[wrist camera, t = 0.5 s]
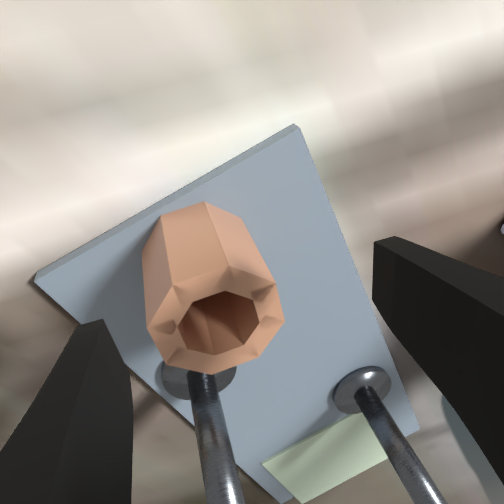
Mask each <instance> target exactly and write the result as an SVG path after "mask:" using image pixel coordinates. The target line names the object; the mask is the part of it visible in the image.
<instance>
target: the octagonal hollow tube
mask: <svg viewBox="0 0 504 504" xmlns="http://www.w3.org/2000/svg"><path fill="white" fill-rule="evenodd" d="M141 252H142V266H143V281H144V295H145V310H146V324H147V329H148V331H149V333H150V335H151V337H152V339H153V341H154V343H155V345H156V346H157V348H158V350H159V352H160V354H161V356H162V358H163V360H164V362H165V364H166V365H170V366H174V367H179V368H183V369H188V370H192V371H197V372H201V373H206V374H210V375H212V374H215V373H218V372H221V371H223V370H226V369H229V368H231V367H234V366H237V365H239V364H242V363H245V362H248V361H250V360H253V359H256V358H258V357H259V356H260V355H261V353H262V352H263V351H264V349H265V348H266V347H267V345H268V344H269V342H270V341H271V340H272V338H273V337H274V336H275V334H276V333H277V332H278V330H279V329H280V328H281V326H282V325H283V324H284V322H285V319H284V315H283V311H282V307H281V303H280V298H279V294H278V290H277V286H276V282H275V280H274V278H273V276H272V275H271V273H270V271H269V269H268V267H267V265H266V263H265V262H264V260H263V258H262V256H261V254H260V252H259V250H258V248H257V247H256V245H255V243H254V241H253V239H252V237H251V235H250V234H249V232H248V230H247V228H246V226H245V224H244V222H243V221H242V219H241V218H240V217H238V216H236V215H233V214H231V213H229V212H227V211H224V210H222V209H220V208H218V207H216V206H213V205H211V204H209V203H207V202H204V201H203V202H200V203H197V204H194V205H191V206H188V207H185V208H181V209H178V210H175V211H172V212H169V213H166V214H163V215H160V217H159V219H158V221H157V223H156V225H155V227H154V229H153V231H152V232H151V234H150V236H149V238H148V240H147V242H146V244H145V246H144V247H143V249H142V251H141Z"/></svg>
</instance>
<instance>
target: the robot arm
mask: <svg viewBox="0 0 504 504" xmlns="http://www.w3.org/2000/svg"><path fill="white" fill-rule="evenodd" d="M501 233H502V234H504V224H503V225H502V227H501ZM372 300H373V302H374V304H375V306H376V307H377V309H378V311H379V312H380V314H381V316H382V317H383V319H384V320H385V322H386V324H387V325H388V327H389V328H390V330H391V331H392V332H393V334H394V335H395V336H396V337H397V339H398V340H399V341H400V342H401V344H402V345H403V346H404V347H405V349H406V350H407V351H408V352H409V354H410V355H411V356H412V357H413V358H414V360H415V361H416V362H417V363H418V364H419V366H420V367H421V368H422V369H423V371H424V372H425V373H426V374H427V375H428V377H429V378H430V379H431V380H432V382H433V383H434V384H435V385H436V386H437V388H438V389H439V390H440V391H441V392H442V394H443V395H444V396H445V397H446V399H447V400H448V401H449V403H450V404H451V405H452V407H453V408H454V409H455V411H456V412H457V414H458V415H459V417H460V418H461V420H462V421H463V422H464V424H465V426H466V427H467V428H468V430H469V432H470V433H471V434H472V436H473V438H474V439H475V441H476V442H477V444H478V445H479V447H480V448H481V450H482V451H483V453H484V455H485V456H486V458H487V459H488V461H489V463H490V464H491V466H492V467H493V469H494V470H495V472H496V474H497V475H498V477H499V478H500V480H501V481H502V483H503V485H504V278H503V277H500V276H497V275H494V274H491V273H489V272H486V271H483V270H480V269H478V268H475V267H473V266H470V265H467V264H465V263H462V262H460V261H457V260H455V259H452V258H450V257H447V256H445V255H442V254H440V253H437V252H435V251H433V250H430V249H428V248H425V247H423V246H420V245H418V244H415V243H413V242H410V241H407V240H405V239H402V238H399V237H396V236H393V237H389V238H386V239H382V240H379V241H375V242H374V254H373V285H372ZM132 453H133V402H132V391H131V382H130V373H129V371H128V369H127V367H126V365H125V363H124V361H123V359H122V357H121V355H120V353H119V351H118V348H117V346H116V344H115V342H114V340H113V338H112V336H111V334H110V332H109V330H108V328H107V326H106V324H105V322H104V319H99V320H96V321H92V322H89V323H85V324H81V325H78V326H77V327H76V329H75V331H74V332H73V334H72V336H71V337H70V339H69V341H68V343H67V345H66V346H65V348H64V350H63V352H62V353H61V355H60V357H59V359H58V360H57V362H56V364H55V366H54V367H53V369H52V371H51V373H50V374H49V376H48V378H47V379H46V381H45V383H44V384H43V386H42V388H41V389H40V391H39V393H38V394H37V396H36V398H35V399H34V401H33V403H32V404H31V406H30V408H29V409H28V411H27V412H26V414H25V415H24V417H23V418H22V420H21V421H20V423H19V424H18V426H17V427H16V429H15V430H14V432H13V433H12V435H11V436H10V438H9V440H8V441H7V443H6V444H5V445H4V447H3V448H2V450H1V451H0V504H131V489H132Z"/></svg>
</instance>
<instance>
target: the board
mask: <svg viewBox="0 0 504 504" xmlns="http://www.w3.org/2000/svg"><path fill="white" fill-rule="evenodd" d="M203 201H204V202H207V203H209V204H211V205H213V206H216V207H218V208H220V209H222V210H224V211H227V212H229V213H231V214H233V215H236V216H238V217H240V218H241V219H242V221H243V222H244V224H245V226H246V228H247V230H248V232H249V234H250V235H251V237H252V239H253V241H254V243H255V245H256V247H257V248H258V250H259V252H260V254H261V256H262V258H263V260H264V262H265V263H266V265H267V267H268V269H269V271H270V273H271V275H272V276H273V278H274V280H275V282H276V286H277V290H278V294H279V298H280V303H281V307H282V311H283V315H284V319H285V322H284V324H283V325H282V326H281V328H280V329H279V330H278V332H277V333H276V334H275V336H274V337H273V338H272V340H271V341H270V342H269V344H268V345H267V347H266V348H265V349H264V351H263V352H262V353H261V355H260V356H259V357H258V358H256V359H253V360H250V361H248V362H245V363H242V364H239V365H237V369H236V374H235V376H234V378H233V380H232V382H231V383H230V384H229V385H228V386H227V387H226V388H225V389H223V390H222V391H221V392H219V396H220V400H221V404H222V409H223V413H224V417H225V421H226V425H227V429H228V434H229V438H230V442H231V446H232V450H233V454H234V458H235V463H236V464H237V465H238V466H239V467H240V468H242V469H243V470H244V471H245V472H246V473H247V474H248V475H249V476H250V477H252V478H253V479H254V480H255V481H256V482H257V483H258V484H259V485H260V486H262V487H263V488H264V489H265V490H266V491H267V492H268V493H269V494H270V495H272V496H273V497H274V498H275V499H276V500H277V501H278V502H279V503H280V504H283V503H284V502H286V501H288V500H290V499H292V498H294V496H293V495H292V494H291V493H290V492H289V491H288V490H287V489H286V488H285V487H284V486H283V485H282V484H281V483H280V482H279V481H278V480H277V479H276V478H275V477H274V476H273V475H272V474H271V473H270V472H269V471H268V470H267V469H266V468H265V467H264V466H263V465H262V463H261V462H263V461H264V460H266V459H268V458H270V457H272V456H274V455H275V454H277V453H279V452H281V451H283V450H284V449H286V448H288V447H290V446H292V445H294V444H295V443H297V442H299V441H301V440H303V439H305V438H306V437H308V436H310V435H312V434H314V433H316V432H317V431H319V430H321V429H323V428H325V427H326V426H328V425H330V424H332V423H334V422H336V421H337V420H339V419H341V418H343V417H345V416H347V415H348V414H345V413H342V412H340V411H339V410H338V409H337V407H336V405H335V403H334V401H333V398H332V394H333V390H334V388H335V386H336V385H337V383H338V382H339V381H340V380H341V379H342V378H343V377H344V376H346V375H347V374H348V373H350V372H352V371H354V370H356V369H358V368H361V367H365V366H378V367H381V368H383V369H384V370H385V371H386V373H387V374H388V376H389V377H390V379H391V383H392V384H391V389H390V391H389V393H388V395H387V396H386V397H385V398H384V399H383V400H382V402H383V404H384V405H385V407H386V408H387V410H388V412H389V413H390V415H391V416H392V418H393V419H394V421H395V422H396V424H397V426H398V427H399V429H400V430H401V432H402V433H403V435H404V436H405V437H406V436H408V435H410V434H412V433H413V432H415V431H417V430H419V429H420V427H419V424H418V422H417V419H416V417H415V414H414V412H413V409H412V407H411V404H410V402H409V399H408V397H407V394H406V392H405V389H404V387H403V384H402V382H401V379H400V377H399V374H398V372H397V369H396V367H395V364H394V362H393V359H392V357H391V354H390V352H389V349H388V347H387V344H386V342H385V339H384V337H383V334H382V332H381V329H380V327H379V324H378V322H377V319H376V317H375V314H374V312H373V309H372V307H371V304H370V302H369V299H368V297H367V294H366V292H365V289H364V287H363V284H362V282H361V279H360V277H359V274H358V272H357V269H356V267H355V264H354V262H353V259H352V257H351V254H350V252H349V249H348V247H347V244H346V242H345V239H344V237H343V234H342V232H341V229H340V227H339V224H338V222H337V219H336V217H335V214H334V212H333V209H332V207H331V204H330V202H329V199H328V197H327V194H326V192H325V189H324V187H323V184H322V182H321V179H320V177H319V174H318V172H317V169H316V167H315V164H314V162H313V159H312V157H311V154H310V152H309V149H308V147H307V144H306V142H305V139H304V137H303V134H302V132H301V129H300V128H299V127H298V126H296V125H295V124H292V125H290V126H289V127H287V128H285V129H283V130H282V131H280V132H278V133H277V134H275V135H273V136H271V137H270V138H268V139H266V140H264V141H263V142H261V143H259V144H257V145H256V146H254V147H252V148H251V149H249V150H247V151H245V152H244V153H242V154H240V155H238V156H237V157H235V158H233V159H232V160H230V161H228V162H226V163H225V164H223V165H221V166H219V167H218V168H216V169H214V170H213V171H211V172H209V173H207V174H206V175H204V176H202V177H200V178H199V179H197V180H195V181H193V182H192V183H190V184H188V185H187V186H185V187H183V188H181V189H180V190H178V191H176V192H174V193H173V194H171V195H169V196H168V197H166V198H164V199H162V200H161V201H159V202H157V203H155V204H154V205H152V206H150V207H149V208H147V209H145V210H143V211H142V212H140V213H138V214H136V215H135V216H133V217H131V218H129V219H128V220H126V221H124V222H123V223H121V224H119V225H117V226H116V227H114V228H112V229H110V230H109V231H107V232H105V233H104V234H102V235H100V236H98V237H97V238H95V239H93V240H91V241H90V242H88V243H86V244H85V245H83V246H81V247H79V248H78V249H76V250H74V251H72V252H71V253H69V254H67V255H65V256H64V257H62V258H60V259H59V260H57V261H55V262H53V263H52V264H50V265H48V266H46V267H45V268H43V269H41V270H40V271H38V272H37V273H36V277H35V280H34V282H35V283H36V284H37V285H38V286H39V287H40V288H42V289H43V290H44V291H45V292H46V293H47V294H48V295H49V296H50V297H52V298H53V299H54V300H55V301H56V302H57V303H58V304H59V305H60V306H62V307H63V308H64V309H65V310H66V311H67V312H68V313H69V314H70V315H72V316H73V317H74V318H75V319H76V320H77V321H78V322H79V323H80V324H85V323H89V322H92V321H96V320H99V319H104V322H105V324H106V326H107V328H108V330H109V332H110V334H111V336H112V338H113V340H114V342H115V344H116V346H117V348H118V351H119V353H120V355H121V357H122V359H123V361H124V363H125V364H126V365H127V366H128V367H129V368H130V369H132V370H133V371H134V372H135V373H136V374H137V375H138V376H139V377H140V378H142V379H143V380H144V381H145V382H146V383H147V384H148V385H149V386H150V387H152V388H153V389H154V390H155V391H156V392H157V393H158V394H159V395H160V396H162V397H163V398H164V399H165V400H166V401H167V402H168V403H169V404H170V405H172V406H173V407H174V408H175V409H176V410H177V411H178V412H179V413H180V414H182V415H183V416H184V417H185V418H186V419H187V420H188V421H189V422H190V423H192V424H193V425H194V420H193V414H192V408H191V402H190V400H183V399H179V398H176V397H174V396H172V395H170V394H169V393H168V392H167V391H166V390H165V388H164V387H163V384H162V376H161V368H162V364H163V362H164V360H163V358H162V356H161V354H160V352H159V350H158V348H157V346H156V345H155V343H154V341H153V339H152V337H151V335H150V333H149V331H148V329H147V324H146V310H145V295H144V281H143V266H142V252H141V251H142V249H143V247H144V246H145V244H146V242H147V240H148V238H149V236H150V234H151V232H152V231H153V229H154V227H155V225H156V223H157V221H158V219H159V217H160V215H163V214H166V213H169V212H172V211H175V210H178V209H181V208H185V207H188V206H191V205H194V204H197V203H200V202H203Z"/></svg>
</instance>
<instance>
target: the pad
mask: <svg viewBox="0 0 504 504" xmlns="http://www.w3.org/2000/svg"><path fill="white" fill-rule="evenodd" d="M387 458H388V457H387V455H386V453H385V452H384V450H383V448H382V446H381V445H380V443H379V441H378V439H377V438H376V436H375V434H374V432H373V431H372V429H371V427H370V426H369V424H368V422H367V420H366V419H365V417H364V415H363V413H358V414H348V415H347V416H345V417H343V418H341V419H339V420H337V421H336V422H334V423H332V424H330V425H328V426H326V427H325V428H323V429H321V430H319V431H317V432H316V433H314V434H312V435H310V436H308V437H306V438H305V439H303V440H301V441H299V442H297V443H295V444H294V445H292V446H290V447H288V448H286V449H284V450H283V451H281V452H279V453H277V454H275V455H274V456H272V457H270V458H268V459H266V460H264V461H263V462H261V463H262V465H263V466H264V467H265V468H266V469H267V470H268V471H269V472H270V473H271V474H272V475H273V476H274V477H275V478H276V479H277V480H278V481H279V482H280V483H281V484H282V485H283V486H284V487H285V488H286V489H287V490H288V491H289V492H290V493H291V494H292V495H293V496H294V497H295V498H297V499H298V500H299V501H300V502H301V503H302V504H304V503H306V502H307V501H309V500H311V499H313V498H315V497H317V496H319V495H320V494H322V493H324V492H326V491H328V490H330V489H331V488H333V487H335V486H337V485H339V484H341V483H343V482H344V481H346V480H348V479H350V478H352V477H354V476H355V475H357V474H359V473H361V472H363V471H365V470H367V469H368V468H370V467H372V466H374V465H376V464H378V463H379V462H381V461H383V460H385V459H387Z"/></svg>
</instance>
